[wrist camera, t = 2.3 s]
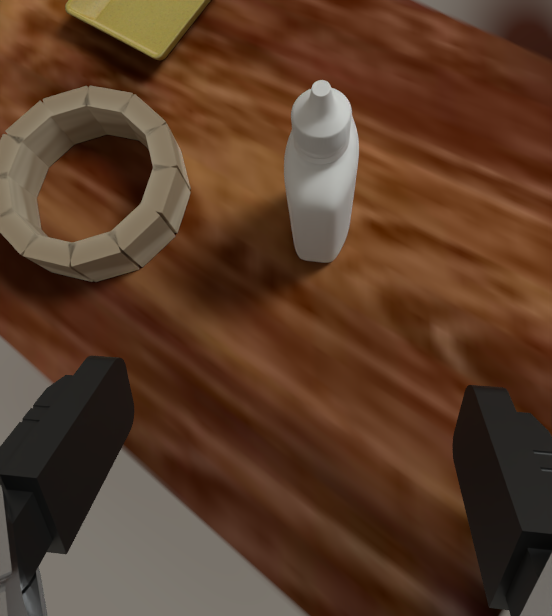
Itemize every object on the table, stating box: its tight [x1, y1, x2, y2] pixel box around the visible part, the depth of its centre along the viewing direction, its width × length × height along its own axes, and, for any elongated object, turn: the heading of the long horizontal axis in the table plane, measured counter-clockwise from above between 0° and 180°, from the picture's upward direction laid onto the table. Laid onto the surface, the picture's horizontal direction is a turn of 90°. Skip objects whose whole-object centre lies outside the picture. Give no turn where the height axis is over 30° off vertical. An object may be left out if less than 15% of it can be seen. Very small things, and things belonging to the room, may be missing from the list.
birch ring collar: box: [0, 86, 191, 282], centre depth 30 cm, size 11×11×3 cm
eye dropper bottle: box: [284, 80, 359, 263], centre depth 24 cm, size 4×6×12 cm
